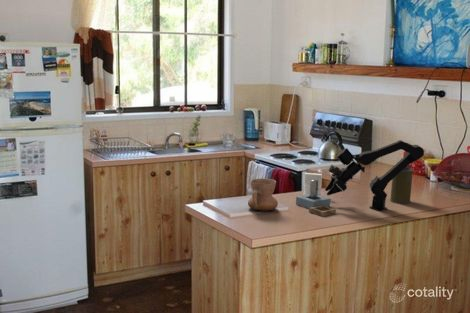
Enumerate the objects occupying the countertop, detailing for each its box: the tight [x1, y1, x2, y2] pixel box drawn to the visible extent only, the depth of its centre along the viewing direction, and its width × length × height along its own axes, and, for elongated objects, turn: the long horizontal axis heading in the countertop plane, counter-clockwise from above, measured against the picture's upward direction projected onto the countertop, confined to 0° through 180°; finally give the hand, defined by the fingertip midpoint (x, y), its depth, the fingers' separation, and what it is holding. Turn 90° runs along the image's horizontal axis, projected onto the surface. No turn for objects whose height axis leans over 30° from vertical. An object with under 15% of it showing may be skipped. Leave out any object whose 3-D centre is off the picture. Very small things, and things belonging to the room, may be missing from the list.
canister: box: [389, 165, 414, 205], centre depth 313 cm, size 11×10×20 cm
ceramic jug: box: [247, 177, 279, 212], centre depth 289 cm, size 18×14×14 cm
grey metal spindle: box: [309, 179, 318, 200], centre depth 299 cm, size 4×4×13 cm
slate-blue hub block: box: [295, 194, 331, 209], centre depth 300 cm, size 12×12×4 cm
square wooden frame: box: [308, 205, 337, 217], centre depth 287 cm, size 9×9×2 cm
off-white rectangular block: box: [303, 172, 323, 196], centre depth 319 cm, size 9×9×12 cm
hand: (326, 192), depth 299 cm, fingers open, 9 cm apart
